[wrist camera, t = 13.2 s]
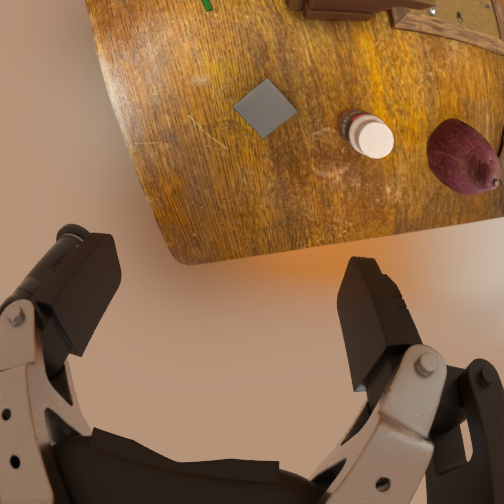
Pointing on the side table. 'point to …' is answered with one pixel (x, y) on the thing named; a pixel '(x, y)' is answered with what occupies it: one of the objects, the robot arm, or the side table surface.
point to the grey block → (265, 108)
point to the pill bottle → (366, 133)
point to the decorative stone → (502, 164)
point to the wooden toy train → (352, 8)
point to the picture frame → (457, 22)
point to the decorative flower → (207, 5)
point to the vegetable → (463, 158)
